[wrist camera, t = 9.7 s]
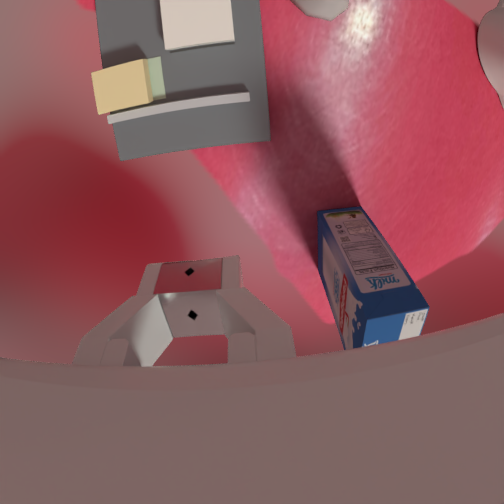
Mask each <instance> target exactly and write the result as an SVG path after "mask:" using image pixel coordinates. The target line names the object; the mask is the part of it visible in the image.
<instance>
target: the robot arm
mask: <svg viewBox="0 0 504 504" xmlns="http://www.w3.org/2000/svg"><path fill="white" fill-rule="evenodd" d="M478 51H479V57H480V61H481V64H482V67H483V70H484V72H485V74H486V76H487V78H488V80H489V82H490V83H491V85H492V86H493V87H494V88H495V90H496V91H497V93H498V95H499V98H500V101H501V104H502V106H503V108H504V0H500V1H499V3H498V5H497V7H496V8H495V9H493V10H491V11H489V12H488V13H486V14H485V16H484V17H483V19H482V21H481V23H480V26H479V30H478ZM221 334H225V336H226V337H227V338H228V363H227V364H210V365H191V366H189V365H188V366H152V365H153V364H154V362H155V361H156V360H157V359H158V357H159V356H160V355H161V354H162V352H163V351H164V350H165V349H166V347H167V346H168V344H169V343H170V342H171V341H172V340H173V337H185V336H197V335H221ZM0 504H504V313H502V314H499V315H496V316H492V317H489V318H486V319H482V320H479V321H475V322H472V323H468V324H465V325H461V326H457V327H453V328H449V329H445V330H442V331H437V332H433V333H429V334H425V335H420V336H416V337H411V338H407V339H402V340H397V341H392V342H387V343H382V344H377V345H371V346H366V347H360V348H354V349H348V350H343V351H336V352H329V353H323V354H316V355H308V356H301V357H296V352H295V348H294V341H293V336H292V331H291V327H290V326H289V325H288V324H287V323H286V322H284V321H283V320H282V319H281V318H280V317H278V316H277V315H276V314H275V313H274V312H273V311H272V310H270V309H269V308H268V307H267V306H266V305H265V304H263V303H262V302H261V301H260V300H259V299H258V298H257V297H255V296H254V295H253V294H252V293H251V292H249V290H247V289H246V288H245V287H243V280H242V272H241V264H240V257H239V256H238V255H236V256H229V257H223V258H215V259H206V260H197V261H180V262H167V263H155V264H149V265H147V266H146V269H145V272H144V275H143V278H142V280H141V283H140V286H139V289H138V292H137V295H136V296H132V297H130V298H129V299H128V300H127V301H126V302H124V303H123V304H122V305H121V306H119V307H118V308H117V309H116V310H115V311H113V312H112V313H111V314H110V315H109V316H107V317H106V318H105V319H104V320H103V321H101V322H100V323H99V324H98V325H97V326H95V327H94V328H93V329H92V330H91V331H89V332H88V333H87V334H86V335H85V336H84V337H82V339H81V342H80V344H79V347H78V349H77V352H76V354H75V357H74V360H73V362H72V364H58V363H46V362H35V361H25V360H16V359H7V358H0Z"/></svg>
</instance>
